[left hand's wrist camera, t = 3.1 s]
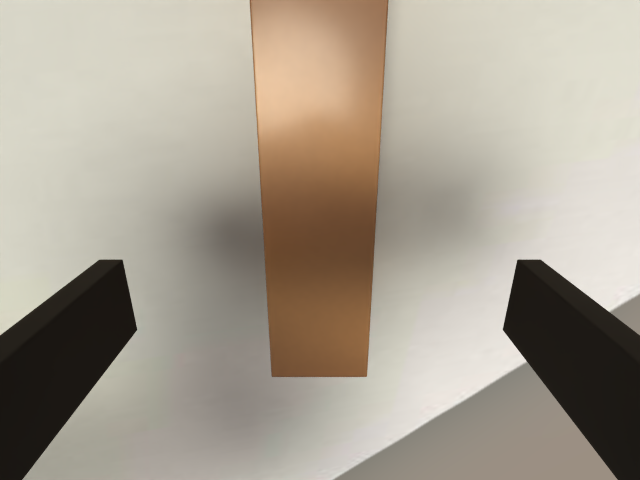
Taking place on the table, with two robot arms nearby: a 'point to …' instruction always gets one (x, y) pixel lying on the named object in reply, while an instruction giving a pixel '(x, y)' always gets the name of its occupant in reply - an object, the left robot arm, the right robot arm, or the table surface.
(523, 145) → the table surface
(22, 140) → the table surface
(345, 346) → the bar
